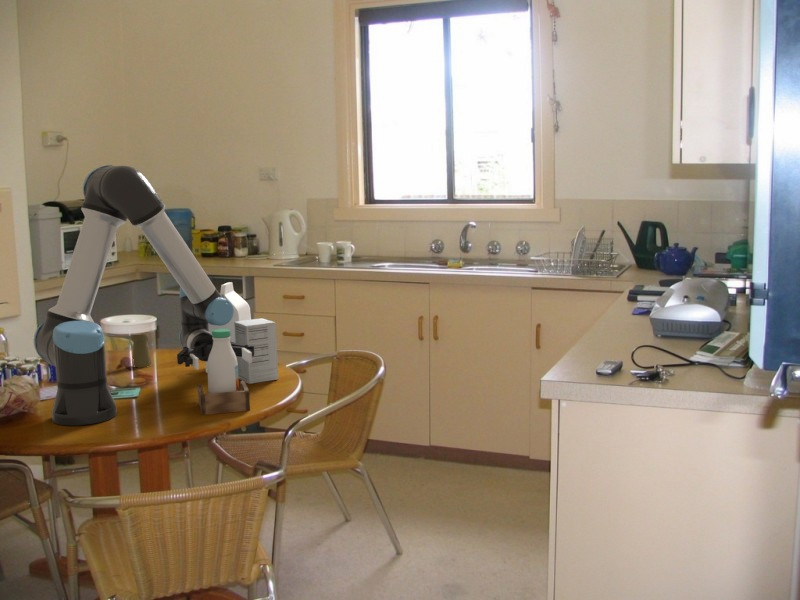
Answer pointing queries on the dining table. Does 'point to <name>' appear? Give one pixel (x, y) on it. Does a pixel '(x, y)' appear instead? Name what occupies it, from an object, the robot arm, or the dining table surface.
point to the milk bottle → (222, 364)
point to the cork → (141, 350)
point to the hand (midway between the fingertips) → (224, 360)
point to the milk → (239, 311)
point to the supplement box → (257, 350)
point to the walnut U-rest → (224, 401)
